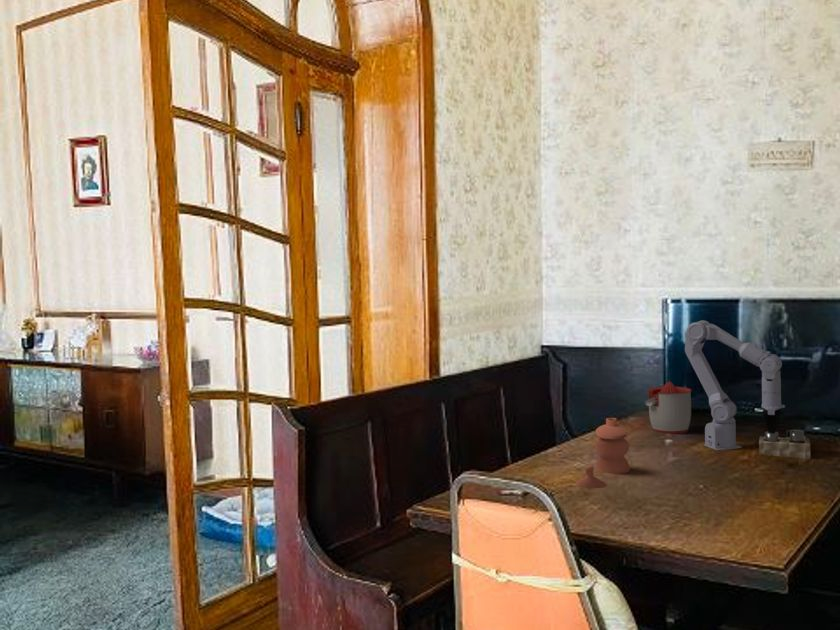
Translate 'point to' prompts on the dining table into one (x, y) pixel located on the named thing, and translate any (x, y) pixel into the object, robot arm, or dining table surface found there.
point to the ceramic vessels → (608, 454)
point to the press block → (785, 448)
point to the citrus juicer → (669, 408)
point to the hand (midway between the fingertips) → (771, 432)
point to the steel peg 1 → (771, 436)
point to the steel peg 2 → (796, 436)
